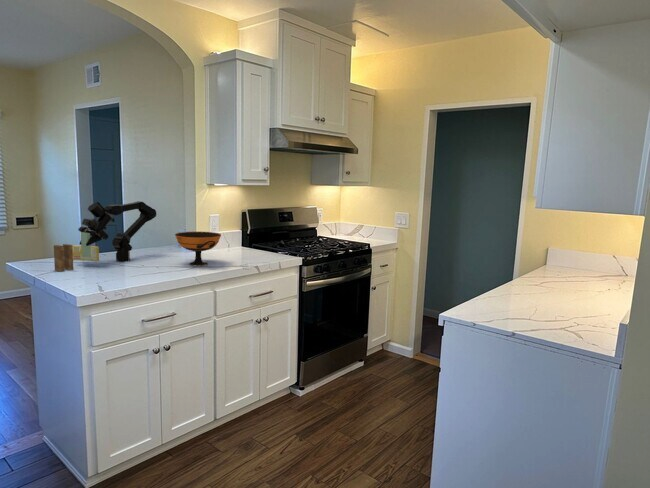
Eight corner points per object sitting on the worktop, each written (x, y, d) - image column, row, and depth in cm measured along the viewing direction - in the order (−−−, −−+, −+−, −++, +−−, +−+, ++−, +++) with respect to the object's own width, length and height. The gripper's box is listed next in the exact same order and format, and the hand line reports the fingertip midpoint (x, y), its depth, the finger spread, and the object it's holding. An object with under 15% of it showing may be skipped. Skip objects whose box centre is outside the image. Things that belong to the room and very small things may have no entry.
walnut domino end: (58, 269, 233) (57, 244, 231) (64, 271, 231) (63, 245, 229) (54, 270, 231) (53, 245, 230) (60, 271, 229) (59, 246, 227)
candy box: (99, 260, 261) (99, 246, 260) (97, 261, 259) (96, 247, 257) (73, 258, 262) (72, 244, 261) (70, 259, 260) (70, 245, 259)
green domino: (85, 256, 245) (84, 232, 243) (90, 257, 243) (90, 233, 241) (81, 256, 243) (80, 232, 241) (87, 257, 241) (86, 233, 239)
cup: (165, 260, 268) (165, 231, 266) (206, 257, 284) (206, 229, 281) (188, 272, 240) (188, 239, 238) (232, 268, 256) (232, 237, 253)
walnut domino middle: (67, 268, 237) (66, 243, 235) (73, 269, 235) (72, 244, 233) (63, 268, 235) (62, 244, 234) (69, 270, 233) (68, 245, 231)
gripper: (80, 211, 247) (61, 233, 239) (102, 214, 238) (83, 237, 231) (94, 225, 255) (76, 246, 247) (116, 228, 246) (98, 250, 239)
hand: (83, 245), depth 241 cm, fingers closed on green domino, 5 cm apart
